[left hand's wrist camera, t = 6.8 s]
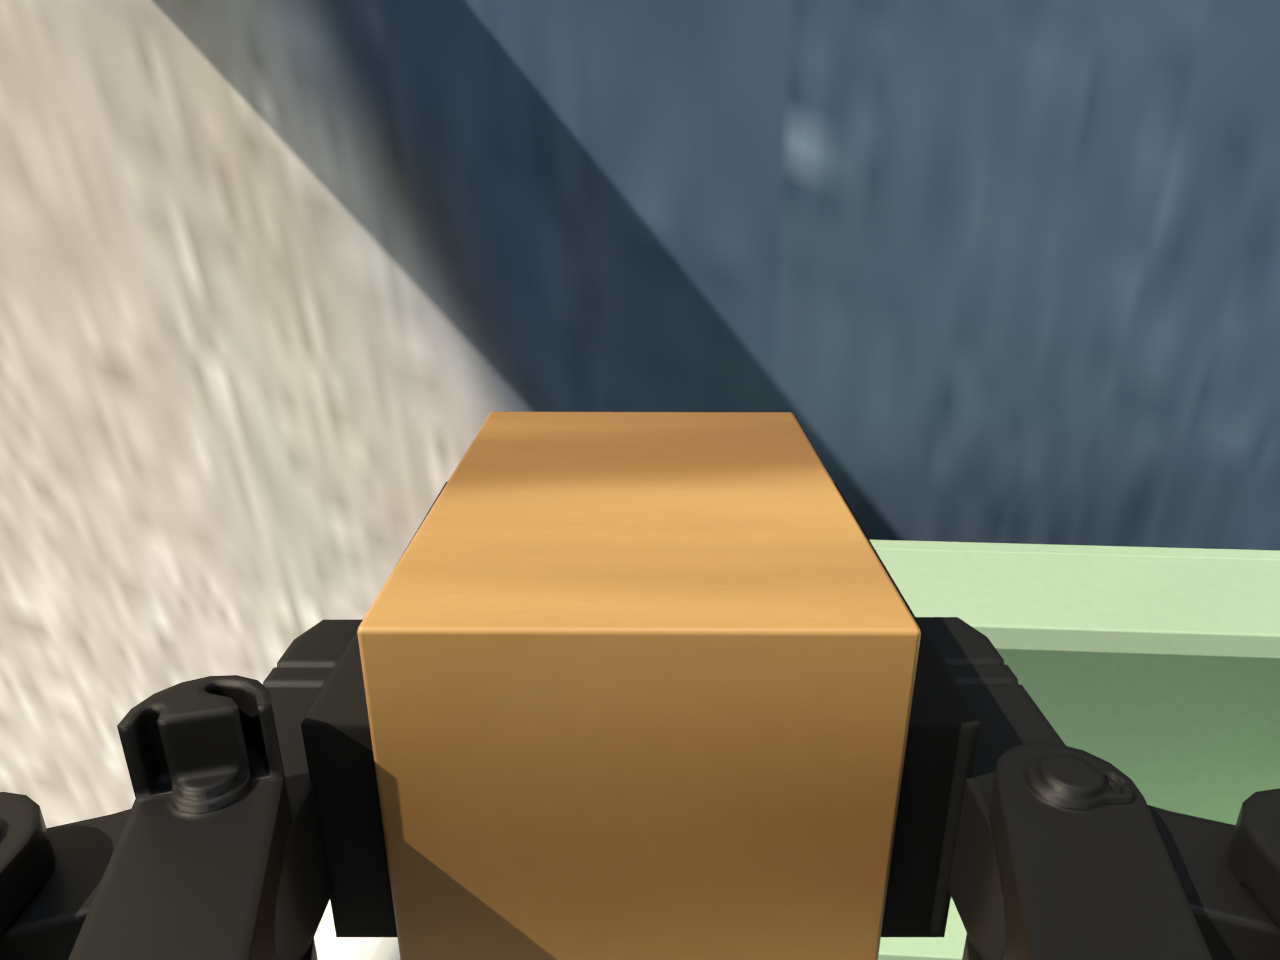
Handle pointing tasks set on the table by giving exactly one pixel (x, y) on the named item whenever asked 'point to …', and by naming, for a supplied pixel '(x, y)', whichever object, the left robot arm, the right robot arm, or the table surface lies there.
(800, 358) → the table surface
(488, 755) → the beech block
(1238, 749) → the sage bin
